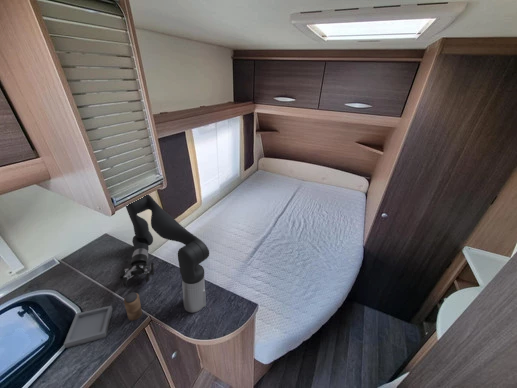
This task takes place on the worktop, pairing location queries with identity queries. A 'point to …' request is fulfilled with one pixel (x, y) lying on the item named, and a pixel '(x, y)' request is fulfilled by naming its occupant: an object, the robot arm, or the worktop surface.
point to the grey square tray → (89, 326)
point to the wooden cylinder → (133, 306)
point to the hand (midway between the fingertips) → (136, 283)
